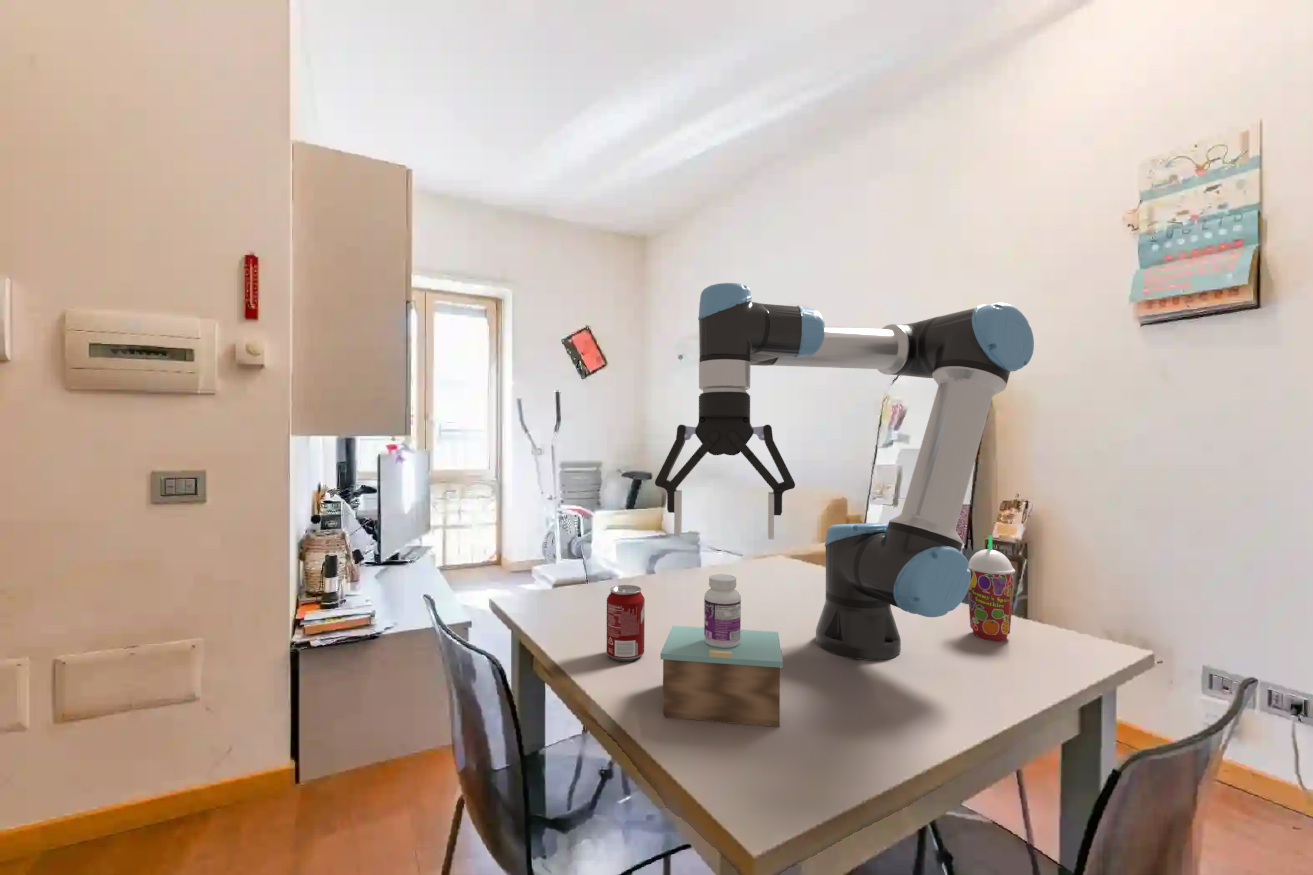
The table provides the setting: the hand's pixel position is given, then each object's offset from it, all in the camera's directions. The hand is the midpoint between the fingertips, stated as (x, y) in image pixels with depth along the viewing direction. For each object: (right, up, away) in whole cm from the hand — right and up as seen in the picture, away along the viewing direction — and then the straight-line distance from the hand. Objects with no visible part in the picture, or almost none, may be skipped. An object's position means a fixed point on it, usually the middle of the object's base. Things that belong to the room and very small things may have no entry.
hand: (723, 536), depth 84 cm
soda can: (-15, -25, +18) cm, 34 cm away
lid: (0, -16, 0) cm, 16 cm away
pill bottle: (0, -16, 0) cm, 16 cm away
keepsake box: (0, -25, 0) cm, 25 cm away
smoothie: (+56, -25, +30) cm, 68 cm away
